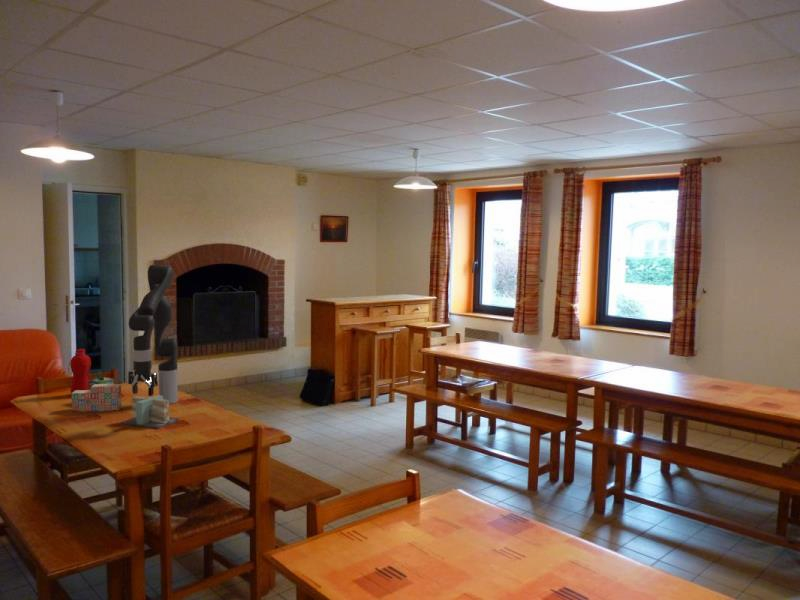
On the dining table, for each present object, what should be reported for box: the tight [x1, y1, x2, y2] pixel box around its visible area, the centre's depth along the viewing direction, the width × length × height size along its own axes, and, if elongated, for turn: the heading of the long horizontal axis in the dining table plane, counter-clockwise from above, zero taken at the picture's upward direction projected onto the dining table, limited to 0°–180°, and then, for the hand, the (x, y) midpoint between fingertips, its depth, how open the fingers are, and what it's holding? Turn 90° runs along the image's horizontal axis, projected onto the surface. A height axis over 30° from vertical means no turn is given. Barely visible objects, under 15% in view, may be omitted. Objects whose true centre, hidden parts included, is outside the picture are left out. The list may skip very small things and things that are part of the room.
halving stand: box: [121, 395, 180, 430], centre depth 285 cm, size 14×20×11 cm
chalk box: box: [88, 372, 115, 390], centre depth 320 cm, size 9×9×15 cm
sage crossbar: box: [136, 394, 163, 425], centre depth 284 cm, size 14×3×10 cm, turn 161°
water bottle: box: [67, 348, 92, 394], centre depth 331 cm, size 9×11×25 cm
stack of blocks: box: [70, 383, 122, 412], centre depth 304 cm, size 21×6×12 cm, turn 99°
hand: (143, 394), depth 280 cm, fingers open, 8 cm apart
